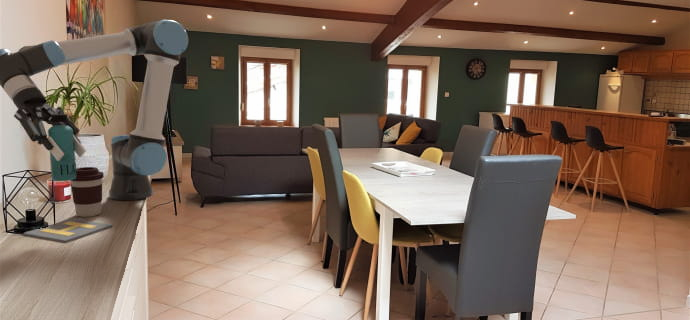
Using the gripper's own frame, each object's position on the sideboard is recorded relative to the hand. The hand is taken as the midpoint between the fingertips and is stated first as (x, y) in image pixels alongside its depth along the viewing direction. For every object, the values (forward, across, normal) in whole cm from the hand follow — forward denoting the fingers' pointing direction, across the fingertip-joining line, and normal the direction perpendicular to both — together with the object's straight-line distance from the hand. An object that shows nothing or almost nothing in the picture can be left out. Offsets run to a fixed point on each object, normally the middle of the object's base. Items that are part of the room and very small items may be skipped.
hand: (71, 155), depth 140 cm
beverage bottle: (+4, 0, -9) cm, 9 cm away
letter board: (+14, 0, -18) cm, 23 cm away
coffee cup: (+7, -15, -25) cm, 30 cm away
